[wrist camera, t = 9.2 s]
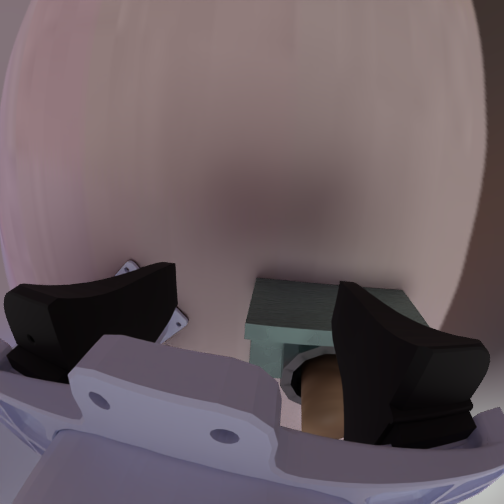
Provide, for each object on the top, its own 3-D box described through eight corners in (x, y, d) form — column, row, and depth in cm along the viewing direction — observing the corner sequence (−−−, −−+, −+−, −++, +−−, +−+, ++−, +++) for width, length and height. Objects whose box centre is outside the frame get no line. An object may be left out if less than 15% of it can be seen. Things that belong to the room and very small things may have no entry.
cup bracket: (371, 376, 25) (385, 424, 19) (249, 369, 26) (239, 421, 20) (402, 290, 22) (433, 333, 15) (256, 277, 23) (245, 323, 17)
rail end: (317, 377, 24) (321, 446, 16) (291, 354, 23) (289, 426, 16) (352, 356, 23) (368, 425, 15) (328, 330, 22) (340, 402, 14)
